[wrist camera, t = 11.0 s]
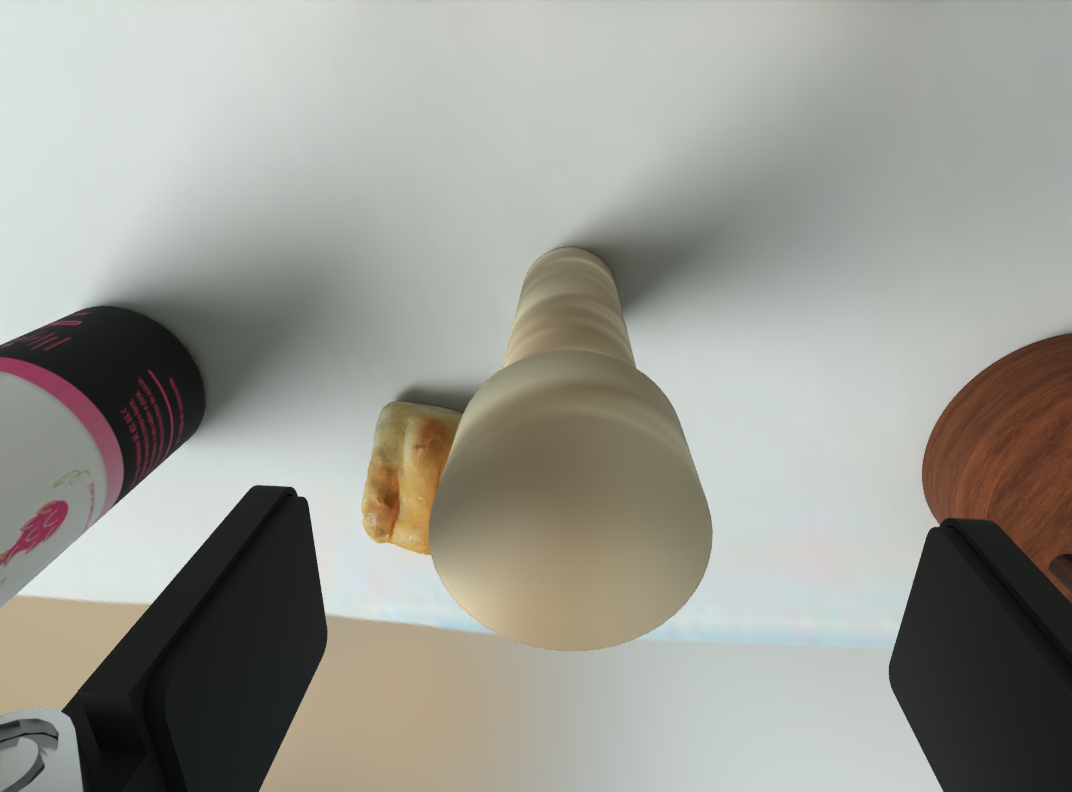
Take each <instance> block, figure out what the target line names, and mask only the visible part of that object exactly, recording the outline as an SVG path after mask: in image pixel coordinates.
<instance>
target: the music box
mask: <svg viewBox="0 0 1072 792" xmlns="http://www.w3.org/2000/svg"><path fill="white" fill-rule="evenodd" d="M922 482H923V489H924V494H925V498H926V501H927V504H928V506H929V508H930V510H931V512H932V514H933V516H934V517H935V519H936V520H937V522H938V523H939V524H941V523H942V522H943V521H944V520H945V519H947V518H965V519H986V520H991V521H994V522H995V523H996V524H997V525H999V527H1000V528H1001V529H1002V530H1003V531H1004V532H1005V533H1006V534H1007V535H1008V536H1009V537H1010V538H1011V539H1012V540H1013V541H1014V543H1015V544H1016V545H1017V546H1018V547H1019V548H1020V549H1021V550H1022V551H1023V552H1024V553H1025V554H1026V555H1027V556H1028V557H1029V559H1030V560H1031V561H1032V562H1033V563H1034V564H1035V565H1036V566H1037V567H1038V568H1039V569H1040V570H1041V571H1042V572H1043V573H1044V575H1045V576H1046V577H1047V578H1048V579H1049V580H1050V581H1051V582H1052V583H1053V584H1054V585H1055V586H1056V587H1057V588H1058V589H1059V591H1060V592H1061V593H1062V594H1063V595H1064V596H1065V597H1066V598H1067V599H1068V600H1069V601H1070V602H1071V603H1072V334H1068V335H1063V336H1058V337H1054V338H1050V339H1046V340H1043V341H1040V342H1037V343H1034V344H1031V345H1029V346H1026V347H1024V348H1022V349H1019V350H1017V351H1015V352H1013V353H1011V354H1009V355H1007V356H1005V357H1004V358H1002V359H1000V360H999V361H997V362H995V363H994V364H992V365H991V366H989V367H988V368H987V369H985V370H984V371H982V372H981V373H980V374H979V375H977V376H976V377H975V378H974V379H973V380H971V381H970V382H969V383H968V384H967V385H966V386H965V387H964V388H963V389H962V390H961V391H960V392H959V393H958V394H957V395H956V396H955V397H954V399H953V400H952V401H951V402H950V403H949V405H948V406H947V408H946V409H945V410H944V412H943V413H942V415H941V416H940V418H939V420H938V421H937V423H936V425H935V427H934V429H933V431H932V433H931V436H930V438H929V441H928V444H927V447H926V450H925V454H924V459H923V467H922Z"/></svg>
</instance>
